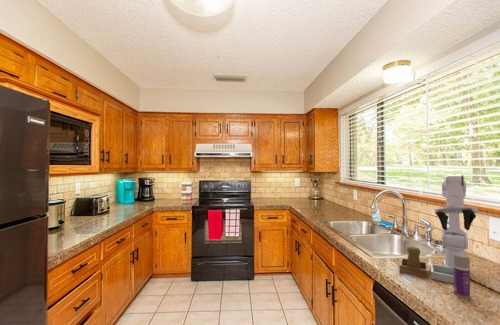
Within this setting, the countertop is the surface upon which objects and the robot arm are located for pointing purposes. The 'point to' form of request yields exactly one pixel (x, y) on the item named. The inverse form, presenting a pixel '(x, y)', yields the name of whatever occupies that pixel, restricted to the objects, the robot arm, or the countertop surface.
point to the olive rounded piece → (413, 257)
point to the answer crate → (440, 275)
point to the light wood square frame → (414, 270)
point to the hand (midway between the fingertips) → (455, 229)
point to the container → (461, 275)
